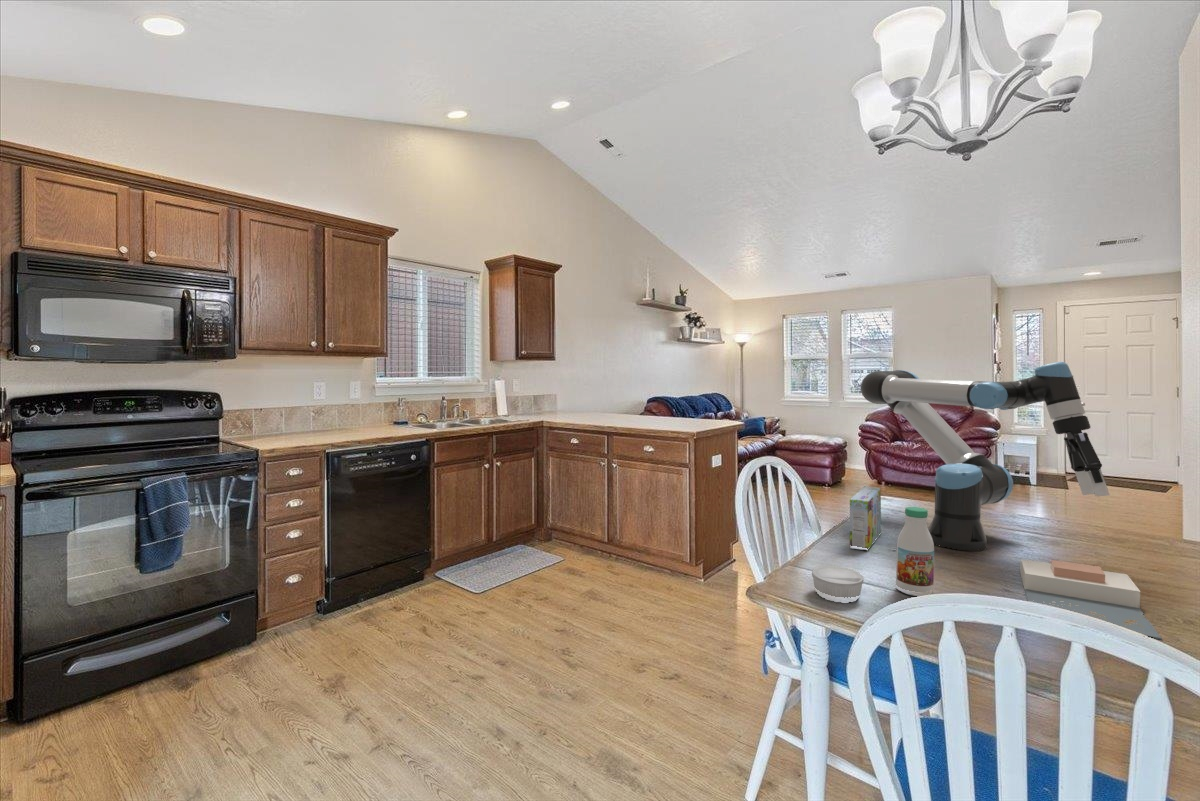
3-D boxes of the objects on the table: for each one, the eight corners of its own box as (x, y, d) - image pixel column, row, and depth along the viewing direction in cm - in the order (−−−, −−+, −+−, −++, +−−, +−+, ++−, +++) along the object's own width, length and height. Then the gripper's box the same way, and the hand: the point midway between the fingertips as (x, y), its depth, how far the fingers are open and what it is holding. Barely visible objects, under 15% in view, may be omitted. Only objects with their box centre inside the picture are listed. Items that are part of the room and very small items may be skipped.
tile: (1053, 575, 131) (1054, 567, 130) (1050, 567, 136) (1050, 559, 135) (1104, 583, 126) (1105, 574, 126) (1099, 574, 131) (1099, 566, 131)
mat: (1031, 615, 119) (1031, 613, 119) (1024, 590, 132) (1024, 588, 132) (1161, 639, 108) (1161, 638, 108) (1139, 609, 121) (1139, 608, 121)
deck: (1024, 590, 132) (1025, 573, 132) (1020, 574, 142) (1020, 558, 142) (1139, 609, 121) (1140, 591, 121) (1126, 590, 131) (1126, 574, 131)
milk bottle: (888, 586, 135) (890, 505, 134) (918, 584, 136) (921, 504, 135) (909, 599, 127) (911, 513, 126) (940, 597, 128) (943, 512, 127)
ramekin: (838, 609, 122) (838, 586, 122) (800, 591, 133) (801, 569, 132) (874, 601, 127) (875, 578, 127) (835, 583, 137) (836, 562, 137)
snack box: (862, 531, 180) (863, 485, 179) (881, 534, 177) (882, 487, 176) (848, 549, 163) (849, 498, 162) (869, 552, 160) (870, 500, 159)
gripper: (1098, 409, 140) (1128, 494, 135) (1075, 418, 161) (1100, 491, 157) (1061, 416, 143) (1089, 498, 139) (1043, 424, 165) (1067, 496, 160)
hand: (1095, 495), depth 148 cm, fingers open, 13 cm apart
